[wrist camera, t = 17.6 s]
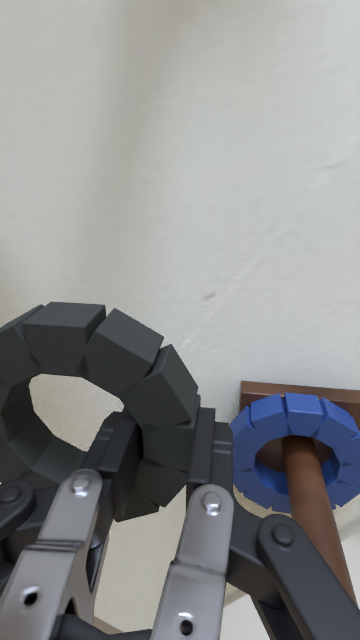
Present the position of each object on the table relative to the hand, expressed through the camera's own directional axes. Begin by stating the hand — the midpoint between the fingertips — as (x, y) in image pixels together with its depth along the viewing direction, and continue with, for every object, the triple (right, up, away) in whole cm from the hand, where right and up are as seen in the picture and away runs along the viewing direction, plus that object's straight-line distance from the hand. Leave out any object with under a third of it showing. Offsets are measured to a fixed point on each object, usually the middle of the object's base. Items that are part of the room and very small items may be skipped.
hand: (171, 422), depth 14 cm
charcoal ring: (-4, +1, +1) cm, 4 cm away
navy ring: (+9, -5, +11) cm, 15 cm away
